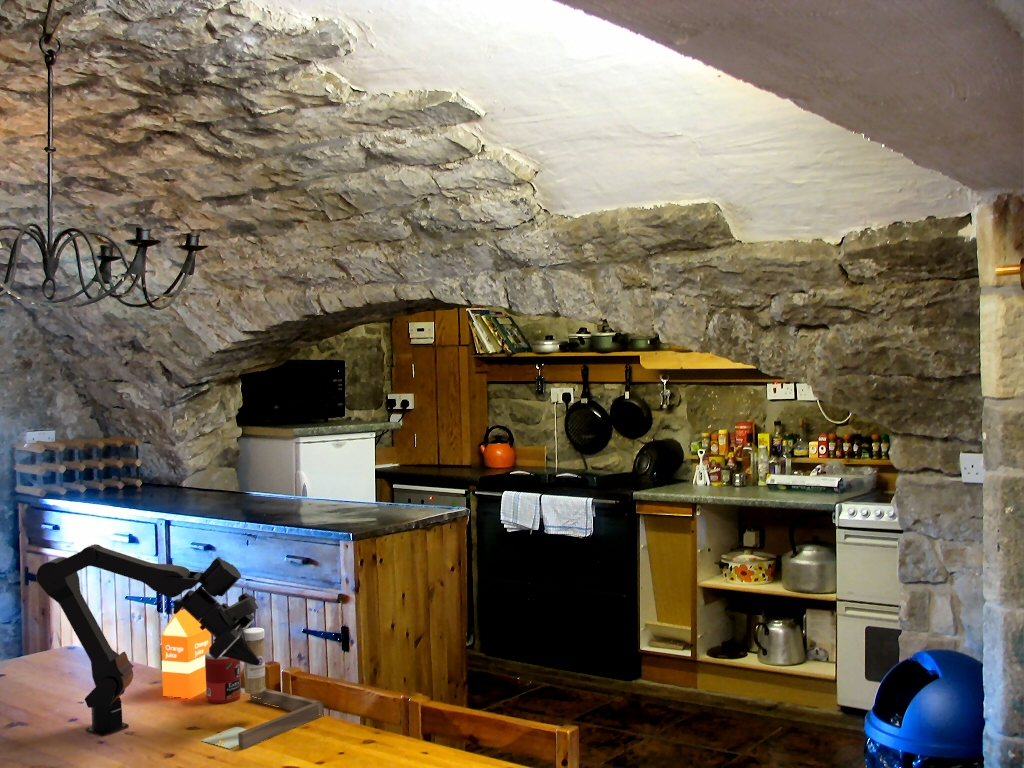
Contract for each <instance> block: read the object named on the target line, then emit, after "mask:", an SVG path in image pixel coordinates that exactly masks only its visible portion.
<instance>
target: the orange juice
mask: <svg viewBox="0 0 1024 768" xmlns="http://www.w3.org/2000/svg"><path fill="white" fill-rule="evenodd" d="M199 621H200V620H199ZM199 621H197V620H195V619H194V618H193V617H192V616H191V615H190V614H189V613H188V612H187V611H186V610H185V609H184V608H183V609H181V610H180V611H179V612H178V613H177V614H174V613H173V615H172V616H171V618H170V620H169V622H168V624H167V625H166V626H165V629H164V630H163V632H162V635H161V636H160V638H161V639H160V641H161V642H160V644H161V645H160V646H161V673H162V697H163V696H173V697H172V698H174V697H181V698H180V699H185V698H188V700H190V699H192V698H194V697H196V696H198V695H200V694H202V693H204V692H206V674H205V653H206V652H208V651H209V647H210V646H211V645H212V641H211V640H212V638H211V636H212V634H211V633H209V632H208V631H207V630H206V629H204V630H203V631H202V630H201V629H200V628H199V627H200V626H201V624H200V623H199Z"/></svg>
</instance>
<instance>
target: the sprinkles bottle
mask: <svg viewBox="0 0 1024 768" xmlns="http://www.w3.org/2000/svg"><path fill="white" fill-rule="evenodd" d="M243 633H244V634H245V643H246V644H247V646H248V647H249V648H250V649H251V650H252V652H253V653H254V654H255V655H256V657H257V658H258V659H259V661H260V663H259V664H258V665H257V666H256V665H252V664H249V663H246V662H243V676H244V693H245V694H249V695H250V694H257V693H261V692H263V691H265V689H267V687H266V679H265V678H266V676H265V675H266V664H265V663H266V661H265V660H266V659H265V635H266V634H265V629H264V628H262V627H252V628H249V629H245V630H244V631H243Z"/></svg>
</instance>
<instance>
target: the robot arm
mask: <svg viewBox="0 0 1024 768" xmlns="http://www.w3.org/2000/svg"><path fill="white" fill-rule="evenodd" d="M87 567H94V568H97V569H101V570H104V571H107V572H109V573H114V574H116V575H119V576H122V577H125V578H129V579H132V580H136V581H137V582H141V583H143V584H145V585H146V586H148V588H150V589H151V590H152V591H154V592H156V593H158V594H159V595H162V596H163V597H166V598H170V599H171V598H173V599H174V598H176V597H178V596H180V595H181V594H183V593H184V592H185V591H187V590H188V591H187V592H186V593H185V594H184V595H183V596H182V597H181V598H179V599H178V598H176V599H175V600H173V601H172V604H173V614H177V613H178V612H179V611H181V610H184V609H185V610H186V611H187V612H188V613H189V614H190V615H191V616H192V617H193V618H194V619H195V620H197V621H199V620H200V621H199V623H200V624H201V626H200V627H199V628H200V629H201V630H202V631H203V630H204V629H206V630H207V631H208V632H209V633H211V636H213V637H214V639H213V643H211V646H210V647H209V654H210V655H211V656H212V657H213V658H214V659H215V660H216V659H217V658H218V657H219V656H220V655H221V654H222V653H223V652H224V651H225V650H226V652H225V653H224V654H223V655H222V657H228V658H232V659H236V660H239V661H240V662H243V663H244V662H246V663H249V664H252V665H256V666H257V665H258V664H259V663H260V661H259V659H258V658H257V657H256V655H255V654H254V653H253V652H252V650H251V649H250V648H249V647H248V646H247V644H246V643H245V634H244V633H243V631H244V630H245V629H249V628H253V625H254V624H253V623H254V622H252V621H253V620H254V618H256V617H255V616H254V615H253V613H255V612H256V611H257V610H258V609H259V606H258V605H257V603H256V601H257V598H256V597H254V596H253V594H251V595H250V594H249V593H247V592H244V593H242V594H240V595H239V596H238V598H237V599H238V601H237V602H235V603H234V604H232V605H230V606H229V604H227V602H225V603H224V602H223V603H220V602H219V601H217V599H216V597H224V596H225V595H226V593H228V591H230V590H231V589H232V587H233V586H234V585H235V584H236V583H237V582H238V581H239V580H240V579H241V578H242V575H241V572H240V571H239V570H238V569H237V567H235V565H234V564H232V563H229V562H228V561H226V560H223V559H222V558H221V557H219V556H217V557H216V558H215V559H214V560H213V561H211V563H210V565H209V566H208V567H207V568H206V569H204V572H202V571H193V570H190V569H188V568H187V567H186V566H183V565H177V564H168V563H153V562H150V561H147V560H143V559H140V558H137V557H135V556H134V557H133V556H132V555H128V554H125V553H121V552H118V551H115V550H113V549H109V548H106V547H103V546H102V545H100V544H97V543H94V544H91V545H88V546H86V547H85V548H83V549H82V550H80V551H79V552H76V553H75V554H73V555H70V556H68V557H65V556H58V557H56V558H53V559H51V560H49V561H47V562H45V563H43V564H41V565H40V566H39V568H38V569H37V571H36V574H35V579H36V582H37V584H38V585H39V586H40V588H41V589H42V590H43V591H44V593H46V595H47V596H48V597H50V598H51V599H52V600H54V601H55V602H56V603H58V605H59V606H60V608H61V609H62V612H63V613H64V615H65V617H66V619H67V621H68V622H69V625H70V626H71V628H72V630H73V631H74V633H75V636H76V637H77V639H78V641H79V642H80V644H81V646H82V648H83V650H84V651H85V653H86V655H87V657H88V659H89V661H90V664H91V665H90V666H91V667H90V668H91V676H92V680H93V682H94V685H95V686H94V688H93V689H92V690H90V691H91V692H89V693H88V695H86V697H85V698H84V701H85V704H86V706H87V708H91V726H88V727H85V731H86V733H87V732H88V733H91V734H94V735H98V736H100V737H102V736H103V737H104V736H107V735H109V734H112V733H115V732H118V731H121V730H123V729H126V728H128V727H129V726H130V725H129V723H126V722H123V708H122V700H121V696H122V695H123V694H125V691H126V689H127V688H128V687H129V686H130V684H132V682H133V678H134V671H133V669H134V667H135V665H133V663H131V662H130V660H129V658H128V655H127V652H126V651H122V652H121V653H117V652H116V651H115V650H114V649H113V648H112V647H111V645H110V644H109V642H108V640H107V637H106V636H105V634H104V633H103V631H102V629H101V627H100V625H99V623H98V622H97V620H96V618H95V617H94V614H93V613H92V611H91V609H90V607H89V605H88V603H87V602H86V600H85V598H84V596H83V595H82V591H81V585H80V584H81V583H80V577H79V574H78V572H79V571H81V570H83V569H85V568H87ZM198 584H200V585H199V586H198V587H197V588H196V589H195V590H192V589H193V588H194V587H195V586H197V585H198ZM251 622H252V623H251Z"/></svg>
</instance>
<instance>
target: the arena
mask: <svg viewBox="0 0 1024 768" xmlns="http://www.w3.org/2000/svg"><path fill="white" fill-rule="evenodd" d="M249 695H250V698H249V699H250V702H253V701H254V702H253V703H257V702H261V703H267V704H270V705H275V706H279V707H281V708H283V709H282V710H285V709H286V711H289V710H290V712H288V713H285V714H283V715H280V716H278V717H275V718H273V719H270V720H269V721H268V720H267V721H265V722H263V723H260V724H257V725H255V726H253V727H251V728H245V727H244V728H243V727H240V726H234V727H231V728H229V729H226V730H224V731H220V732H218V733H216V734H213V735H211V736H209V737H206V738H203V739H201V740H200V741H201V742H202V741H203V742H204V743H206V742H207V744H209V743H210V745H212V744H215V745H214V746H216V745H218V746H217V747H219V746H220V744H221V743H220V744H219V740H221V741H223V742H222V744H221V746H223V747H225V748H224V749H226V748H228V749H227V750H229V749H230V750H232V749H234V747H235V748H237V747H238V749H240V748H241V749H240V750H246V749H248V748H251V747H253V746H255V744H256V745H257V743H258V744H260V743H262V742H261V741H263V742H265V741H267V740H269V739H268V738H270V739H272V738H274V736H275V737H277V736H279V735H281V734H280V733H282V732H284V731H286V732H288V731H287V730H289V731H291V730H293V728H294V729H296V728H298V727H300V725H301V726H303V725H306V724H307V723H310V722H312V721H315V720H317V719H319V718H322V717H324V716H325V713H324V711H325V710H324V701H321V700H316V699H312V698H307V697H305V696H304V697H303V696H300V695H299V696H298V695H295V694H291V693H286V692H281V691H278V690H273V689H269V688H266V689H265V691H263V692H261V693H257V694H249ZM252 696H254V697H257V698H254V697H252ZM258 698H261V699H258ZM261 703H260V704H261ZM281 708H280V709H281ZM319 714H320V715H319ZM322 715H323V716H322ZM295 727H296V728H295ZM290 729H291V730H290ZM284 733H285V732H284ZM220 734H222V735H221V736H219V735H220ZM278 734H279V735H278ZM282 734H283V733H282ZM276 735H277V736H276ZM222 736H223V737H222ZM271 737H272V738H271ZM219 738H220V739H219ZM266 739H267V740H266ZM264 740H265V741H264ZM224 742H225V743H224ZM223 744H224V745H223ZM236 746H237V747H236ZM231 748H232V749H231Z"/></svg>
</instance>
